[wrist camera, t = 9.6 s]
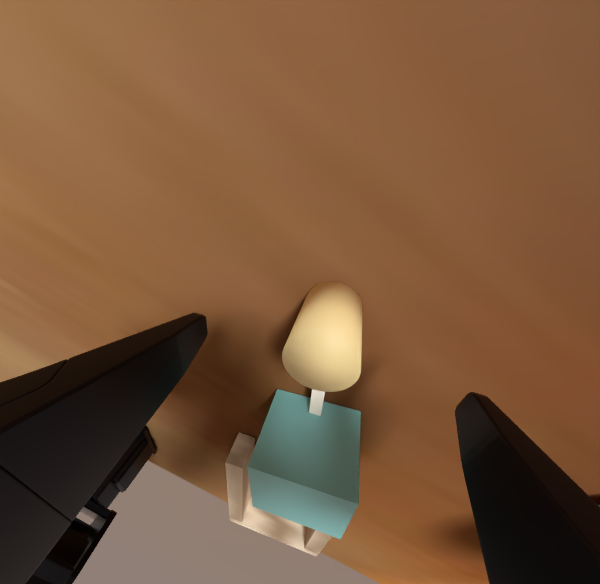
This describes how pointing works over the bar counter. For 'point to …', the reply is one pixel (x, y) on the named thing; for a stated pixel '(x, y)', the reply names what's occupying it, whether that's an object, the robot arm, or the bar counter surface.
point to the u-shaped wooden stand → (258, 518)
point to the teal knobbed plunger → (314, 419)
